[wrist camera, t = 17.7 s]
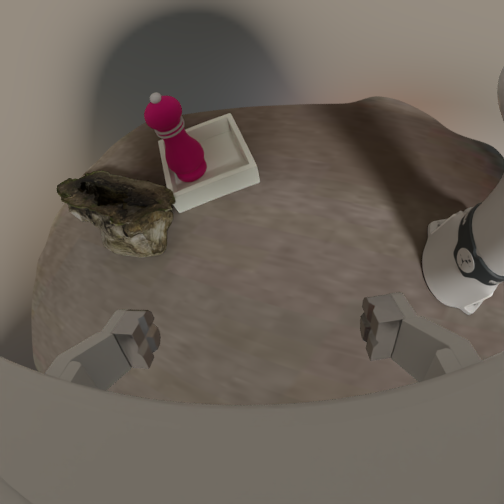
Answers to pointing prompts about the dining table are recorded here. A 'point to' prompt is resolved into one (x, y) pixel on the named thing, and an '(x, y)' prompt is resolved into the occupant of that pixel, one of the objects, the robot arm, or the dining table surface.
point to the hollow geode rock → (122, 211)
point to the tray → (214, 164)
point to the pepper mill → (175, 138)
